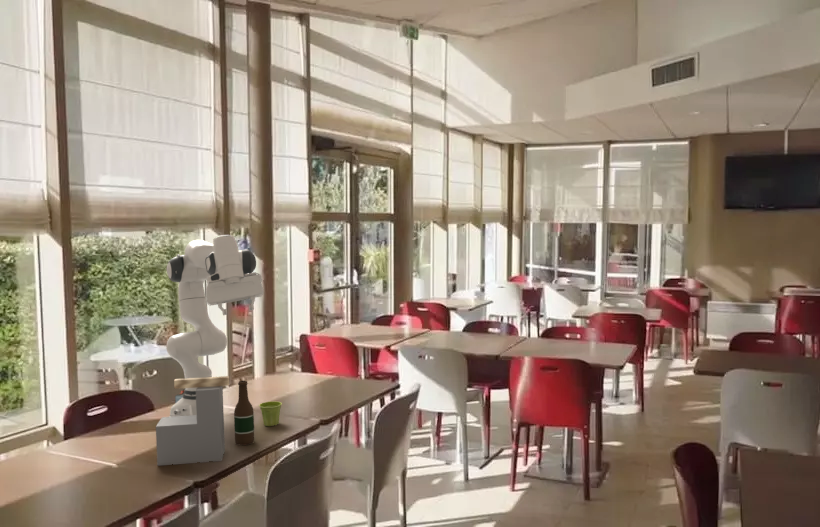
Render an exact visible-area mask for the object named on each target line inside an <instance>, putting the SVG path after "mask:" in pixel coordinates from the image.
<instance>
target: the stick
mask: <svg viewBox="0 0 820 527" xmlns="http://www.w3.org/2000/svg"><path fill="white" fill-rule="evenodd" d="M173 385H174V389H176V390H178V389H185V388H197V387H214V386H223V387H228V386H230V376H229V375H226V376H225V375H224V376H212V377H202V378H185V377H184V378H175V379H174V382H173Z"/></svg>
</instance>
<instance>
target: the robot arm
mask: <svg viewBox="0 0 820 527" xmlns="http://www.w3.org/2000/svg"><path fill="white" fill-rule="evenodd" d="M256 268H257V260H256V256H255V254H254V253H253V252H252V251H251V250H249V249H247V248H246V249H239V247H238V244H237V241H236V239H235V236H234V235H230V234H221V235H217V236H215V237H213V241H212V243H211V242H209V241H207V240H204V239H195V240H191V241H190V242H188V243H187V244H186V246H185V249H184V254H182V255H180V254H177V255H176V256H174V257H172V258H171V259H169V261H167V265H166V274H167V276H168V279H169V280H170V281H171V282H174V283H178V305H179V312H180V313H179V314H180V315H179V316H180V318H181V319H182V321H183V322H185V323H187V324H190V325H192V327H194V330H195V331H188V332H179V333H177V334H174V335H171V336H169V338H168V339H167V341H166V346H165V349H166V352H167V354H168V355H169V357H171V359H173V360H175V361H177V363H179V365H180V366H181V368H182V370H183V374H184V378H202V377H213V372H212V370H211V368H210V367H209V365H206V364H203V363H201V362H200V361H199V358H200V357H205V356H211V355H212V356H213V355H217V354H220V353H222V352H224V351H225V349H226V348H227V345H228V338H227V336H226V333H225V332H223V331H222V329H219V328H218V327H217V326H215V324H214V323H213V322H212V320H211V318H210V316H209V313H208V307H207V305H208V306H210V307H211V306H217V308H218V309H219V310H220V311H222V315H223V316H226V315H228V310H227V308H224V307H223V304H227V303H234V302H239V301H243V300H249V299H250V301H251V304H248V310H249V311H254V309H255V306H254V304H255V302H256V298H261V297H262V296H263V295H264V287H263V284H262V281H263V279H262V276H261V274H260V273H258V272H256V271H255V270H256ZM205 281H206V289H204V283H205ZM197 388H198V387H197ZM197 388H186V389H185V388H183V389H184V390H183V389H182V390H183V391H182V390H181V391H180V392H182V393H183V396H182V398H181V399H180V400H179V401H178V402H177V403H174V404H173V405H171V407H170V411H169V416H168V417H175V416H190V415H197V410H196V389H197ZM180 392H179V393H180ZM182 393H180V394H182Z"/></svg>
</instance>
